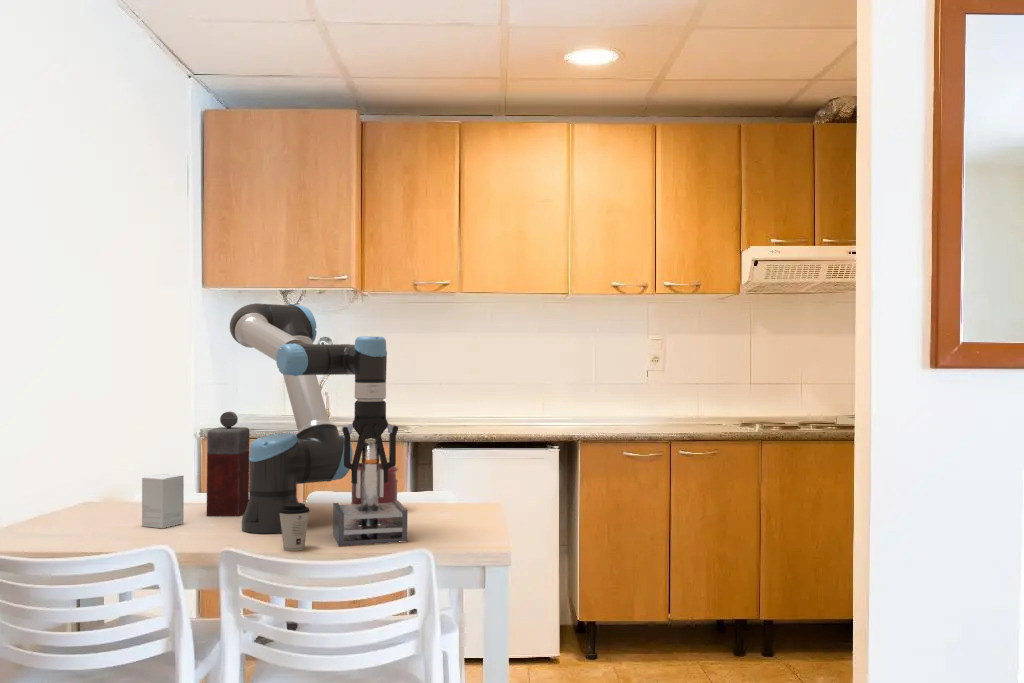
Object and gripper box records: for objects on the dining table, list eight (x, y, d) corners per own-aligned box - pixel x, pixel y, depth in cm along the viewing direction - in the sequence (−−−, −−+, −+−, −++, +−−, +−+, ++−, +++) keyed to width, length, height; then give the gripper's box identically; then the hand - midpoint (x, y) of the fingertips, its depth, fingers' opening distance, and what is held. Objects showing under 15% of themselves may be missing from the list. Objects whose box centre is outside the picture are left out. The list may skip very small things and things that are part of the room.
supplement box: (184, 523, 227) (185, 475, 227) (162, 529, 220) (162, 478, 220) (163, 521, 230) (163, 473, 230) (140, 526, 223) (141, 476, 224)
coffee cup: (307, 551, 196) (307, 507, 197) (275, 552, 196) (275, 507, 196) (311, 545, 203) (312, 501, 203) (281, 545, 203) (281, 502, 203)
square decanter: (251, 508, 249) (252, 410, 249) (239, 516, 238) (240, 412, 238) (220, 508, 249) (221, 409, 249) (206, 516, 238) (207, 412, 238)
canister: (383, 505, 256) (383, 444, 256) (406, 512, 246) (406, 448, 246) (342, 510, 248) (343, 447, 248) (364, 517, 238) (365, 452, 238)
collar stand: (338, 545, 202) (338, 513, 203) (332, 533, 216) (333, 503, 216) (407, 542, 207) (407, 510, 207) (397, 530, 220) (397, 500, 221)
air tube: (361, 535, 209) (363, 443, 209) (359, 532, 213) (361, 441, 213) (379, 534, 210) (380, 442, 211) (376, 531, 214) (378, 441, 214)
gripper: (334, 401, 206) (333, 500, 205) (409, 400, 211) (409, 497, 211) (331, 399, 213) (330, 495, 213) (404, 398, 218) (403, 492, 218)
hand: (369, 496), depth 212 cm, fingers open, 5 cm apart
